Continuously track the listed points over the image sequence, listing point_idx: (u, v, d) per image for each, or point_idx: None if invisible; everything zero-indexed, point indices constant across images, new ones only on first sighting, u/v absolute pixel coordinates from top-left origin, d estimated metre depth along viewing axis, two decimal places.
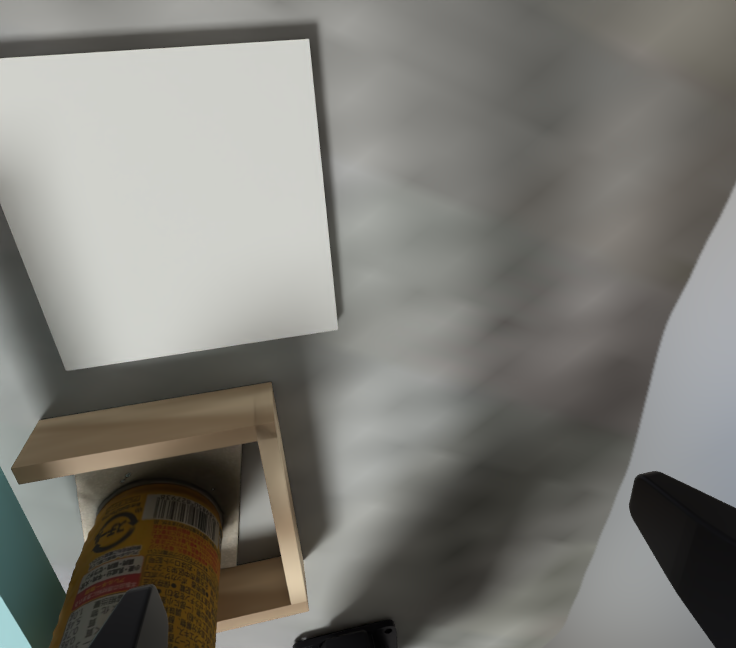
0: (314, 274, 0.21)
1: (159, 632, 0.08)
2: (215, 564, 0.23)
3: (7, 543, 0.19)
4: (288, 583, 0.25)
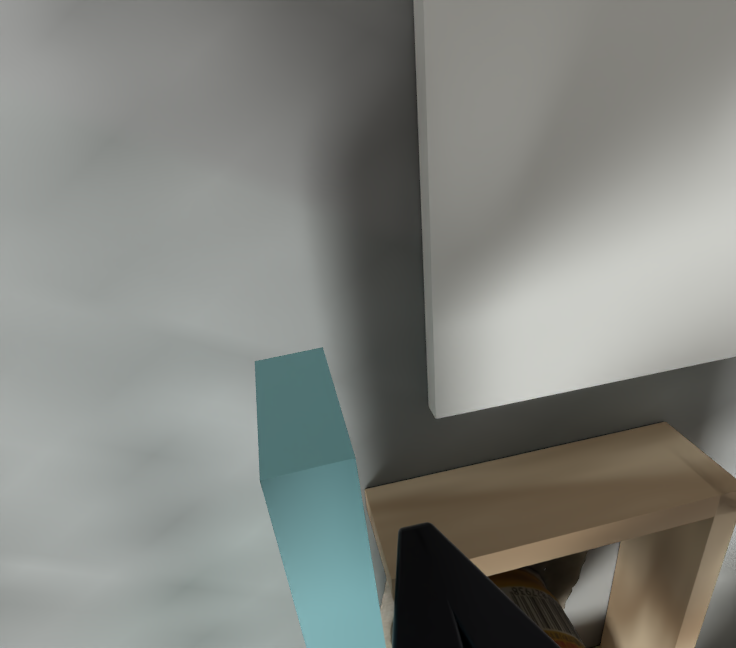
0: None
1: None
2: None
3: None
4: None
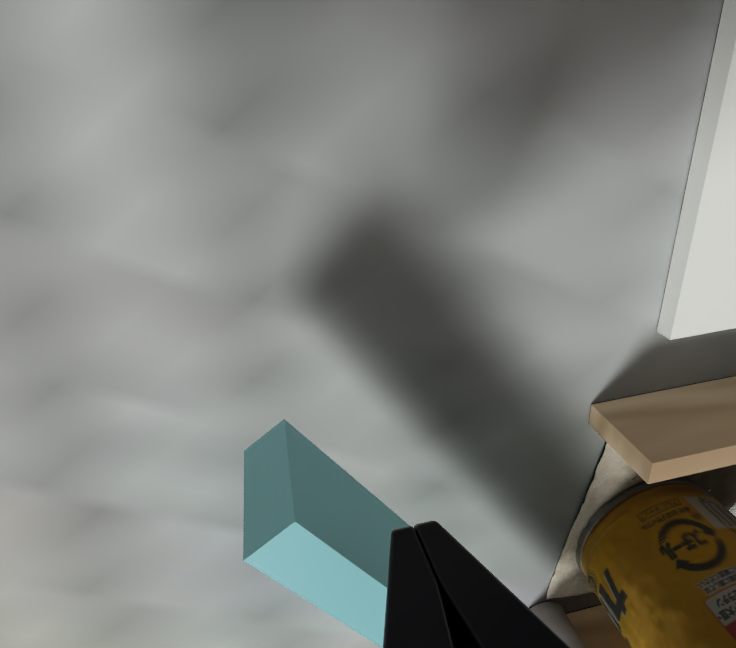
0: None
1: None
2: None
3: None
4: None
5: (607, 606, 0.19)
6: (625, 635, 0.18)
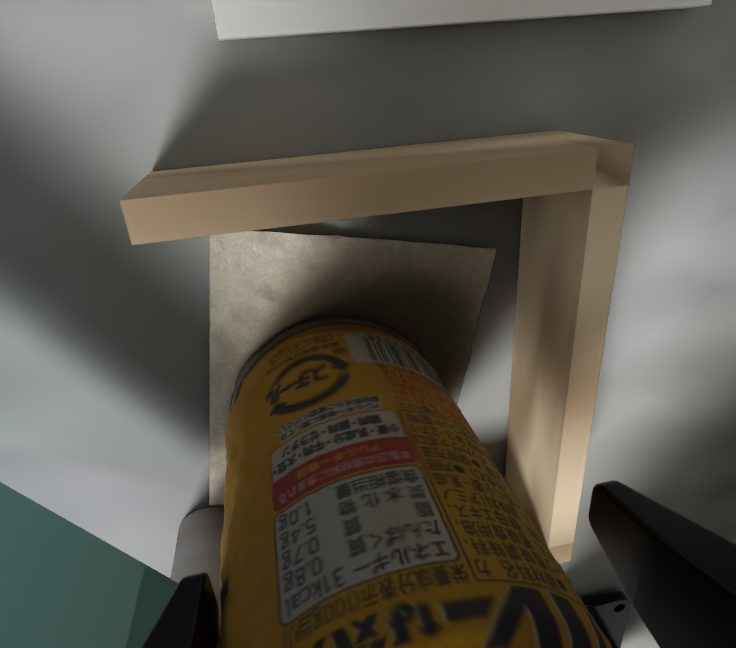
0: None
1: (213, 619, 0.08)
2: None
3: None
4: (555, 507, 0.14)
5: None
6: None
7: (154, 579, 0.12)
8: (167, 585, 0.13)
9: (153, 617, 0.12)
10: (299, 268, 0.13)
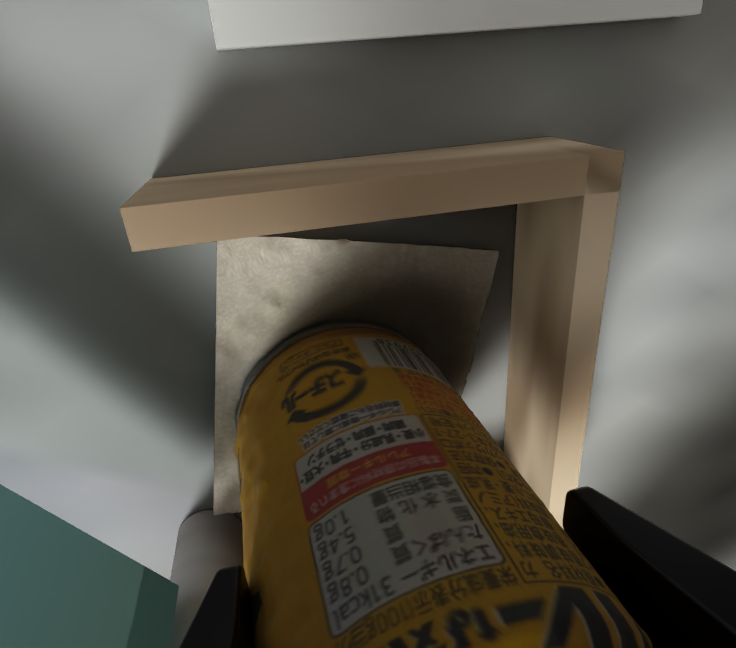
0: None
1: (248, 611, 0.08)
2: None
3: None
4: (551, 509, 0.15)
5: None
6: None
7: (154, 581, 0.13)
8: (166, 587, 0.13)
9: (153, 618, 0.12)
10: (307, 273, 0.13)
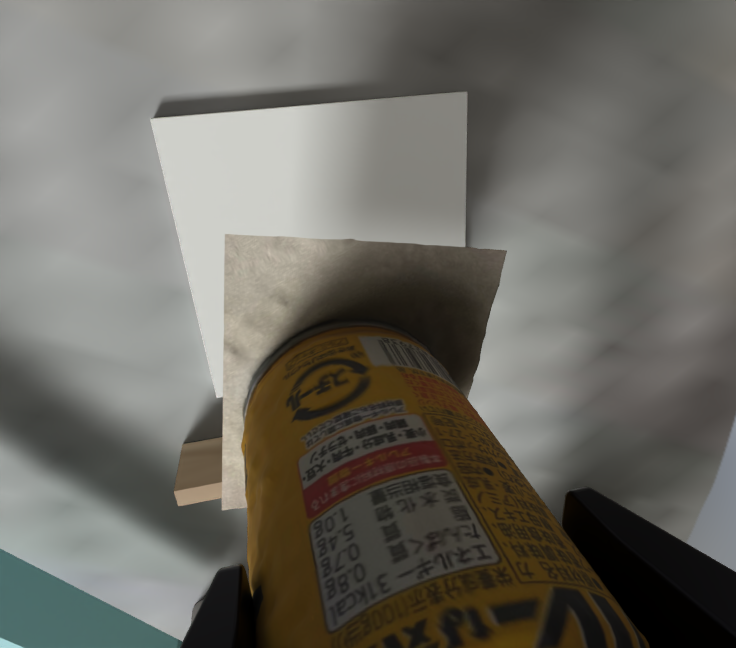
0: None
1: (249, 610, 0.09)
2: None
3: (45, 612, 0.20)
4: None
5: None
6: None
7: None
8: None
9: None
10: (313, 272, 0.13)
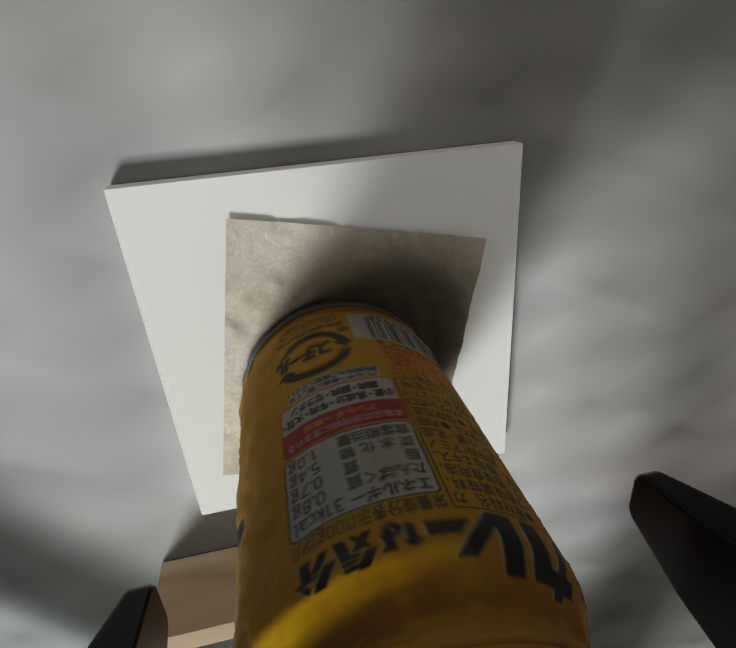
0: (488, 396, 0.18)
1: (159, 632, 0.08)
2: None
3: None
4: None
5: None
6: None
7: None
8: None
9: None
10: (306, 255, 0.14)
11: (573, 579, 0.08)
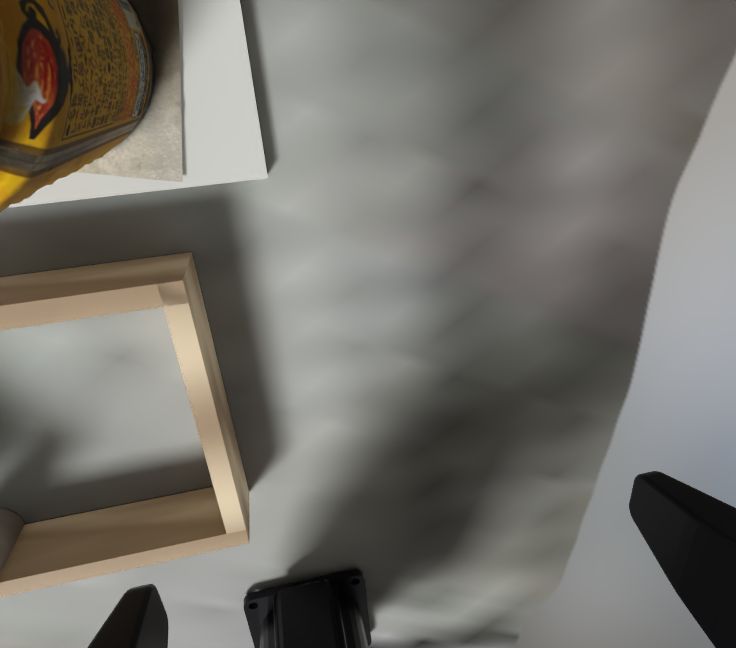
0: (232, 97, 0.17)
1: (159, 632, 0.08)
2: (119, 18, 0.12)
3: None
4: (220, 505, 0.21)
5: None
6: None
7: None
8: None
9: None
10: None
11: None
